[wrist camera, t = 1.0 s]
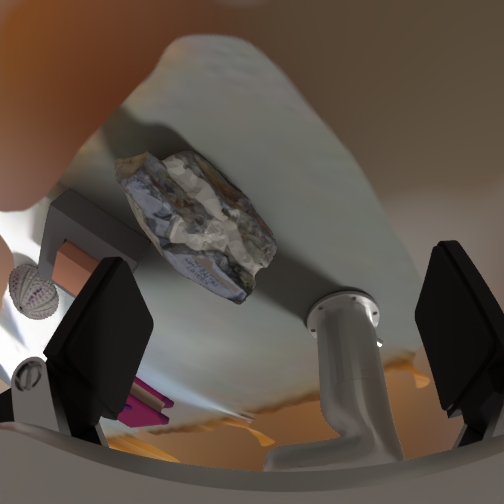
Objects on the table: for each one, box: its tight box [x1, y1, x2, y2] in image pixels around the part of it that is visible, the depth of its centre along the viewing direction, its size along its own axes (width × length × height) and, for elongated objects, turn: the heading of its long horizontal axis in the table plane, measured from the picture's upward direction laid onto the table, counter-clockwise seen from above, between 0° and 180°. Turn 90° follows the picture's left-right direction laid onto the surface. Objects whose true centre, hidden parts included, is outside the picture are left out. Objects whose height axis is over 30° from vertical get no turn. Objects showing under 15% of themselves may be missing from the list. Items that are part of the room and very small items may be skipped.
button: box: [52, 240, 100, 296], centre depth 42 cm, size 7×7×3 cm
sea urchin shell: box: [9, 265, 59, 320], centre depth 52 cm, size 13×14×8 cm
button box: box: [37, 189, 151, 298], centre depth 45 cm, size 16×16×6 cm
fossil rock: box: [115, 150, 277, 304], centre depth 35 cm, size 21×10×15 cm, turn 40°
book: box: [117, 376, 174, 428], centre depth 71 cm, size 21×28×8 cm
